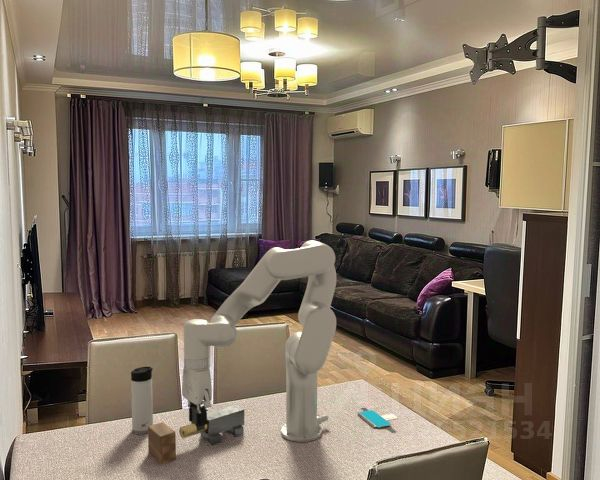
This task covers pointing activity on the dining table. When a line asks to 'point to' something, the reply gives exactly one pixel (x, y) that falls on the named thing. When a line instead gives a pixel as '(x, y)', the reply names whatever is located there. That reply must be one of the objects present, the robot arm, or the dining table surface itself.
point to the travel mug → (141, 399)
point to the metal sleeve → (224, 423)
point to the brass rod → (192, 426)
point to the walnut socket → (162, 443)
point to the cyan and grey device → (377, 419)
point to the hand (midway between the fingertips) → (198, 422)
